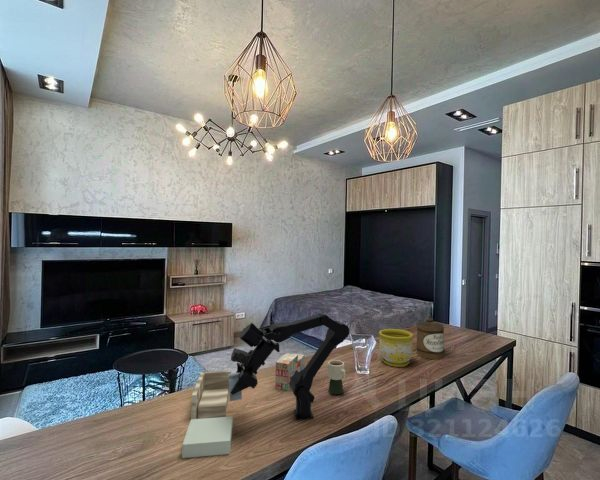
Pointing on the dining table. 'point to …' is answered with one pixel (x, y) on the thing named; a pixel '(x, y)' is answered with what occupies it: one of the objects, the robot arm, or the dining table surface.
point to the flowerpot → (395, 347)
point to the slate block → (232, 381)
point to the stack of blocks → (288, 369)
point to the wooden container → (430, 339)
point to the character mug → (336, 376)
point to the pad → (208, 437)
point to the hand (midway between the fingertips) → (231, 389)
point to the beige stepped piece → (211, 394)
